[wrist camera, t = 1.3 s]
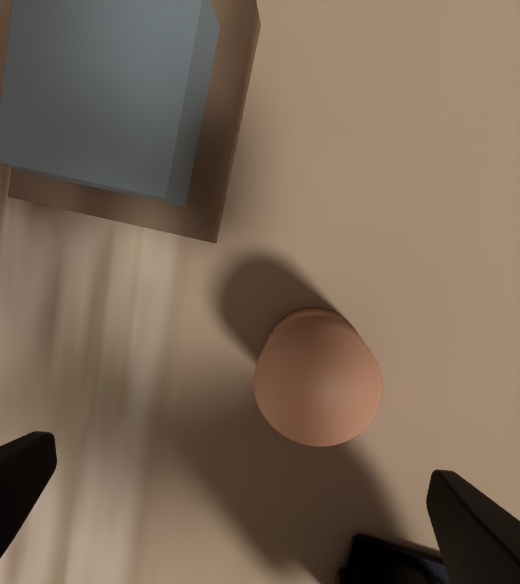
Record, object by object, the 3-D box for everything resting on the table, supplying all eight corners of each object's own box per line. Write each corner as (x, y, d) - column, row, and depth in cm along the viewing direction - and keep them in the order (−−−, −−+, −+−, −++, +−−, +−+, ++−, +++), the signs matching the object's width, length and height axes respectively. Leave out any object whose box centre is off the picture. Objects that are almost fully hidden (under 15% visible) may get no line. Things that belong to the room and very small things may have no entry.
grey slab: (219, 26, 16) (204, -15, 14) (185, 206, 18) (165, 197, 15) (57, 2, 17) (17, -40, 15) (34, 174, 19) (-7, 161, 16)
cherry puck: (373, 320, 19) (397, 340, 14) (349, 410, 19) (363, 461, 14) (278, 297, 19) (268, 309, 14) (257, 385, 20) (241, 426, 15)
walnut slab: (262, 33, 19) (255, -2, 16) (219, 243, 20) (206, 241, 18) (70, 5, 20) (37, -31, 17) (42, 204, 21) (8, 196, 19)
